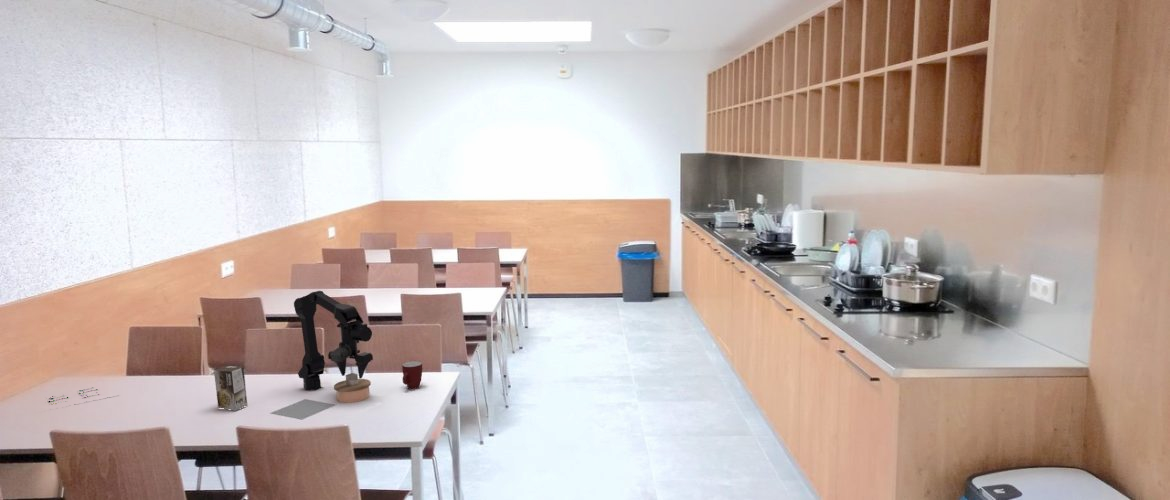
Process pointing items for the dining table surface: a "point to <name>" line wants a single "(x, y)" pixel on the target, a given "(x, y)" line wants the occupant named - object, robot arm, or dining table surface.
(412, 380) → the mug
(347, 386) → the lid
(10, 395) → the dining table surface
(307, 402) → the mat
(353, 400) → the bowl
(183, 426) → the dining table surface
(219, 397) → the coffee box
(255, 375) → the dining table surface
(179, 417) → the dining table surface
